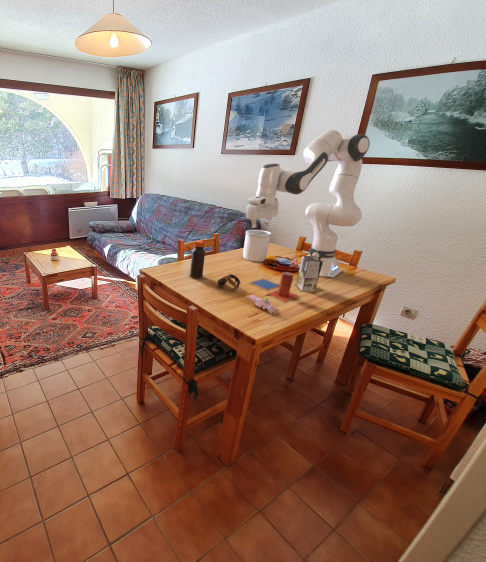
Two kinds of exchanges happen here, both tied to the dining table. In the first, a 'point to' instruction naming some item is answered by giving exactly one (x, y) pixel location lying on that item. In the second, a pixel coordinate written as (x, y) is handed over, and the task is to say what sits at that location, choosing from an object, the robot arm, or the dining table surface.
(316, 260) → the coffee box
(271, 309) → the pink elongated piece
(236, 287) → the brown headphones
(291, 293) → the terracotta mat
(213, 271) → the dining table surface
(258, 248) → the utensil holder
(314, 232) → the robot arm
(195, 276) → the bottle
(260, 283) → the blue mat
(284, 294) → the rust-red canister
